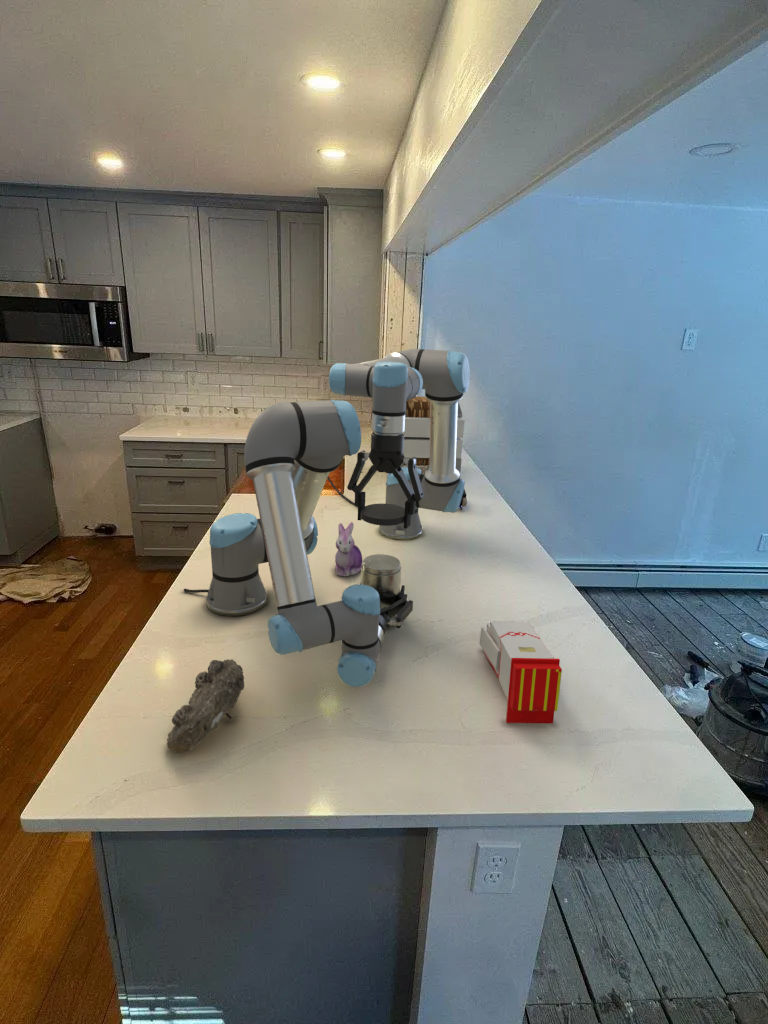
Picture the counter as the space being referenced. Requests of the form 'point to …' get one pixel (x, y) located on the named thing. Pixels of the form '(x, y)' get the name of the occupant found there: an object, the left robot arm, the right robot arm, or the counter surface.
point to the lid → (383, 514)
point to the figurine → (347, 552)
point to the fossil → (206, 705)
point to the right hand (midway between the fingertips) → (383, 522)
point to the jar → (382, 577)
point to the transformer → (425, 432)
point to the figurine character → (463, 500)
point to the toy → (523, 670)
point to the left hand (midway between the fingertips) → (382, 587)
